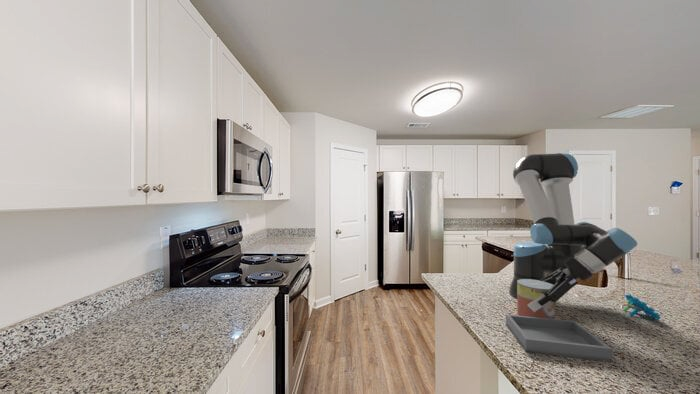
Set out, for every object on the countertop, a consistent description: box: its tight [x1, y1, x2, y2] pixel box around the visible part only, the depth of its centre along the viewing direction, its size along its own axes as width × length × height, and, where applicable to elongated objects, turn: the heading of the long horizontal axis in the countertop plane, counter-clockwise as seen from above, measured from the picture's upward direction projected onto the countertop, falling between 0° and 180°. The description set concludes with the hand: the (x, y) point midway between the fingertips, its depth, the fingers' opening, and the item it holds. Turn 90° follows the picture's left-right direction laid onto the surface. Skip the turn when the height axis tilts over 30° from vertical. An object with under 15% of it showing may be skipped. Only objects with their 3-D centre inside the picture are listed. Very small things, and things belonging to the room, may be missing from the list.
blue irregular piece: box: [622, 293, 661, 320], centre depth 96 cm, size 11×6×10 cm
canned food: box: [516, 279, 556, 319], centre depth 95 cm, size 11×11×12 cm
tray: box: [505, 313, 613, 363], centre depth 79 cm, size 16×20×4 cm
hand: (528, 302), depth 96 cm, fingers closed on canned food, 11 cm apart
